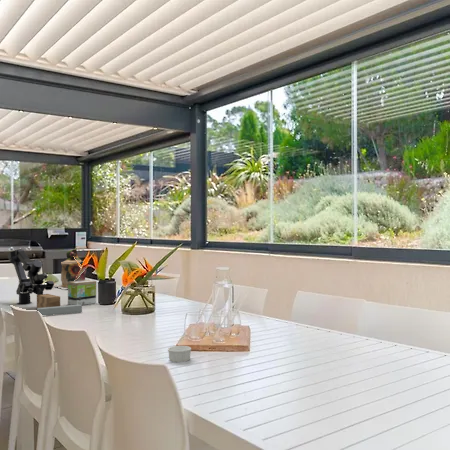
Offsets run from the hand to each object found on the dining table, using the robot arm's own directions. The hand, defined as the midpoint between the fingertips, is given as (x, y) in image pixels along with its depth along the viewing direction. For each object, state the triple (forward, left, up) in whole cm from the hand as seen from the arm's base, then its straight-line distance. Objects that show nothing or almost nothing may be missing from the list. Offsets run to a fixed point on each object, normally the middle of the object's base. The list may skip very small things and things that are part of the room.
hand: (42, 297), depth 292 cm
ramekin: (+127, -69, -7) cm, 144 cm away
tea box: (+12, +23, -7) cm, 27 cm away
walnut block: (+8, -4, -7) cm, 11 cm away
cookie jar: (-46, +88, -7) cm, 100 cm away
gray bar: (+22, -10, -7) cm, 25 cm away
